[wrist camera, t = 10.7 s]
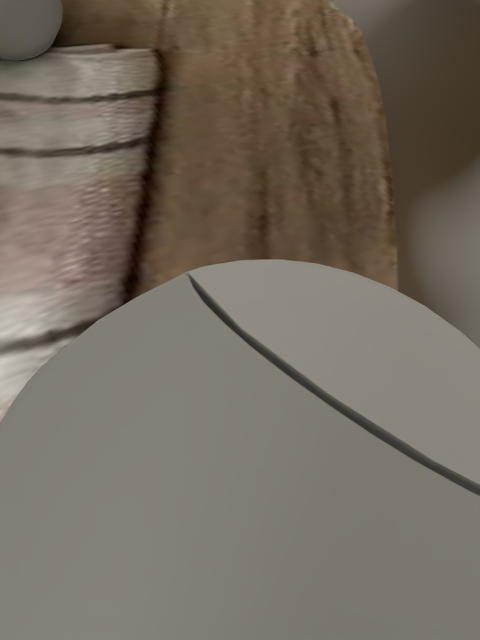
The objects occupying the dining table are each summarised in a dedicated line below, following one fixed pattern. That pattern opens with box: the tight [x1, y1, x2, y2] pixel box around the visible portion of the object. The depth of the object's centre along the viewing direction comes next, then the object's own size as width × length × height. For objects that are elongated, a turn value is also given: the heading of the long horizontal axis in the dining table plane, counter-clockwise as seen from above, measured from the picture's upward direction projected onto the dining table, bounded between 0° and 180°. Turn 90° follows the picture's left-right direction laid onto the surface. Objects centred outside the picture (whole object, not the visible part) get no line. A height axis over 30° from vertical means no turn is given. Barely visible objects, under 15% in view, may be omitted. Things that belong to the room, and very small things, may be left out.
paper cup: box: [0, 259, 480, 640], centre depth 10 cm, size 8×8×14 cm
